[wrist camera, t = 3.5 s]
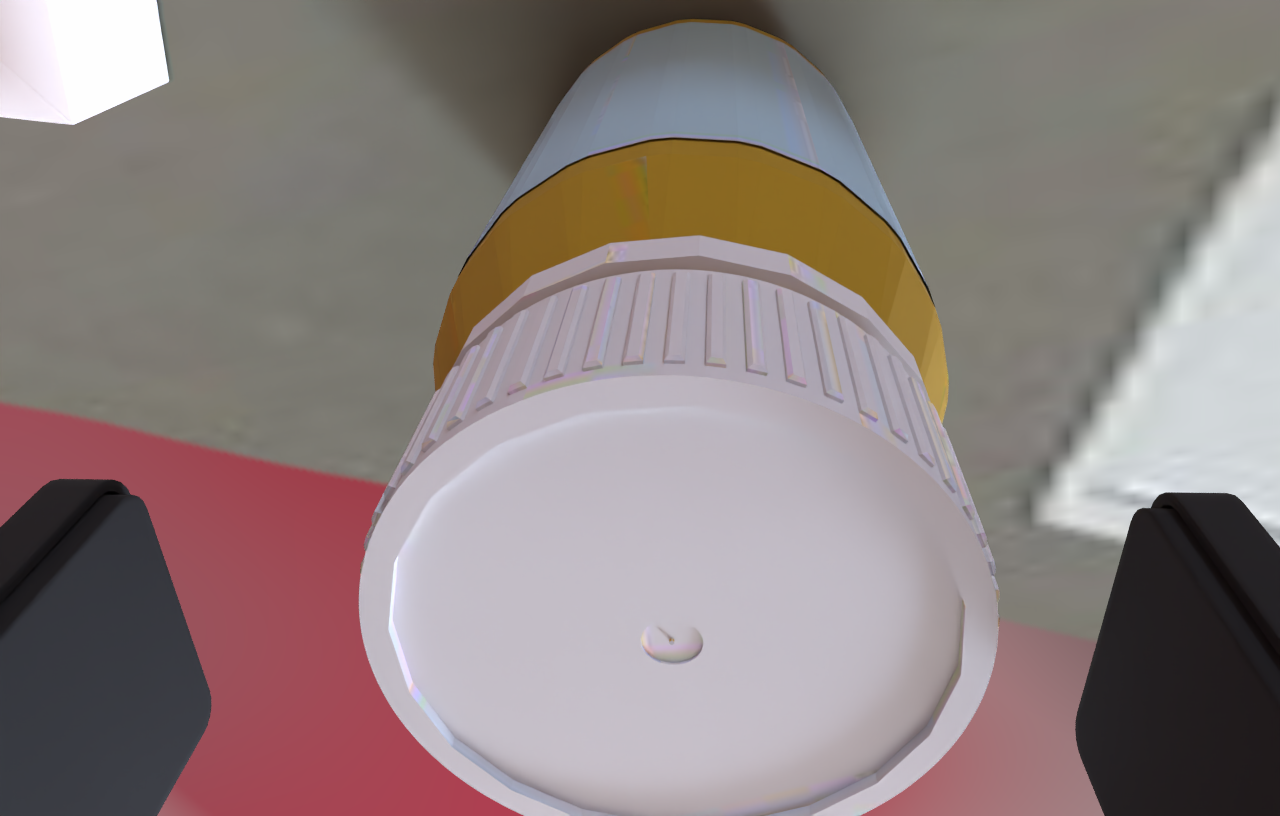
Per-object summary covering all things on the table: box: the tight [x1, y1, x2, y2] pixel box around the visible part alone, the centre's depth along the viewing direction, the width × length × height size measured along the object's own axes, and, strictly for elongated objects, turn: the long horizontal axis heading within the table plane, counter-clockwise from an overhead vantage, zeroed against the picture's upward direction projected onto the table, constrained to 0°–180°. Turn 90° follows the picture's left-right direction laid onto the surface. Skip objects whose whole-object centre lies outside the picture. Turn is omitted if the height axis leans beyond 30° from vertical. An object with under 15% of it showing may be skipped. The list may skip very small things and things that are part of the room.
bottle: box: [359, 19, 1000, 816], centre depth 16 cm, size 7×7×15 cm
